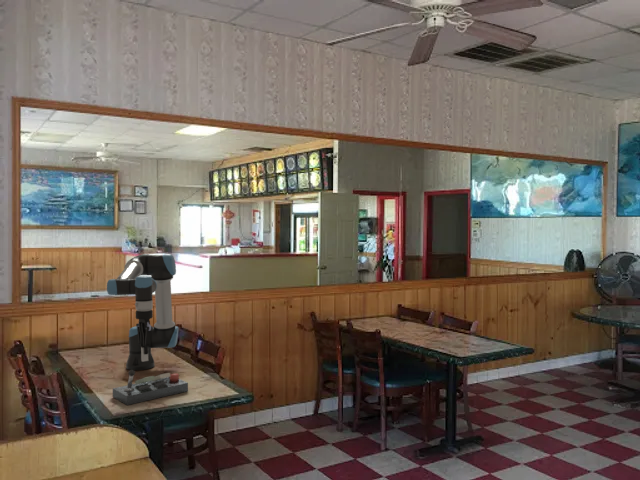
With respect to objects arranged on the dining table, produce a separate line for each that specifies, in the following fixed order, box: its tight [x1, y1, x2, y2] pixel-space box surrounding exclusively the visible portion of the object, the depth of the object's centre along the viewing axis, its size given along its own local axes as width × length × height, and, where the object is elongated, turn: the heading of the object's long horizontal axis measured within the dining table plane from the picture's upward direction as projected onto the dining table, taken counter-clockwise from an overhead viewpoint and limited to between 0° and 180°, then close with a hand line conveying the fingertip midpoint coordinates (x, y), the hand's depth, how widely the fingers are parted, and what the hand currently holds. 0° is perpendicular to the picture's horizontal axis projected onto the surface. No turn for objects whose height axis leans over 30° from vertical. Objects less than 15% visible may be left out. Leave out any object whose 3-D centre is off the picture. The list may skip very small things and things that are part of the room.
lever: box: [127, 370, 136, 389], centre depth 255 cm, size 3×3×10 cm
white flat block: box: [134, 375, 155, 385], centre depth 261 cm, size 10×5×2 cm, turn 42°
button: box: [169, 372, 180, 382], centre depth 271 cm, size 4×4×3 cm
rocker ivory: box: [153, 372, 171, 381], centre depth 266 cm, size 10×5×2 cm, turn 42°
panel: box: [112, 377, 189, 406], centre depth 263 cm, size 16×30×5 cm, turn 132°
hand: (144, 360), depth 257 cm, fingers closed
